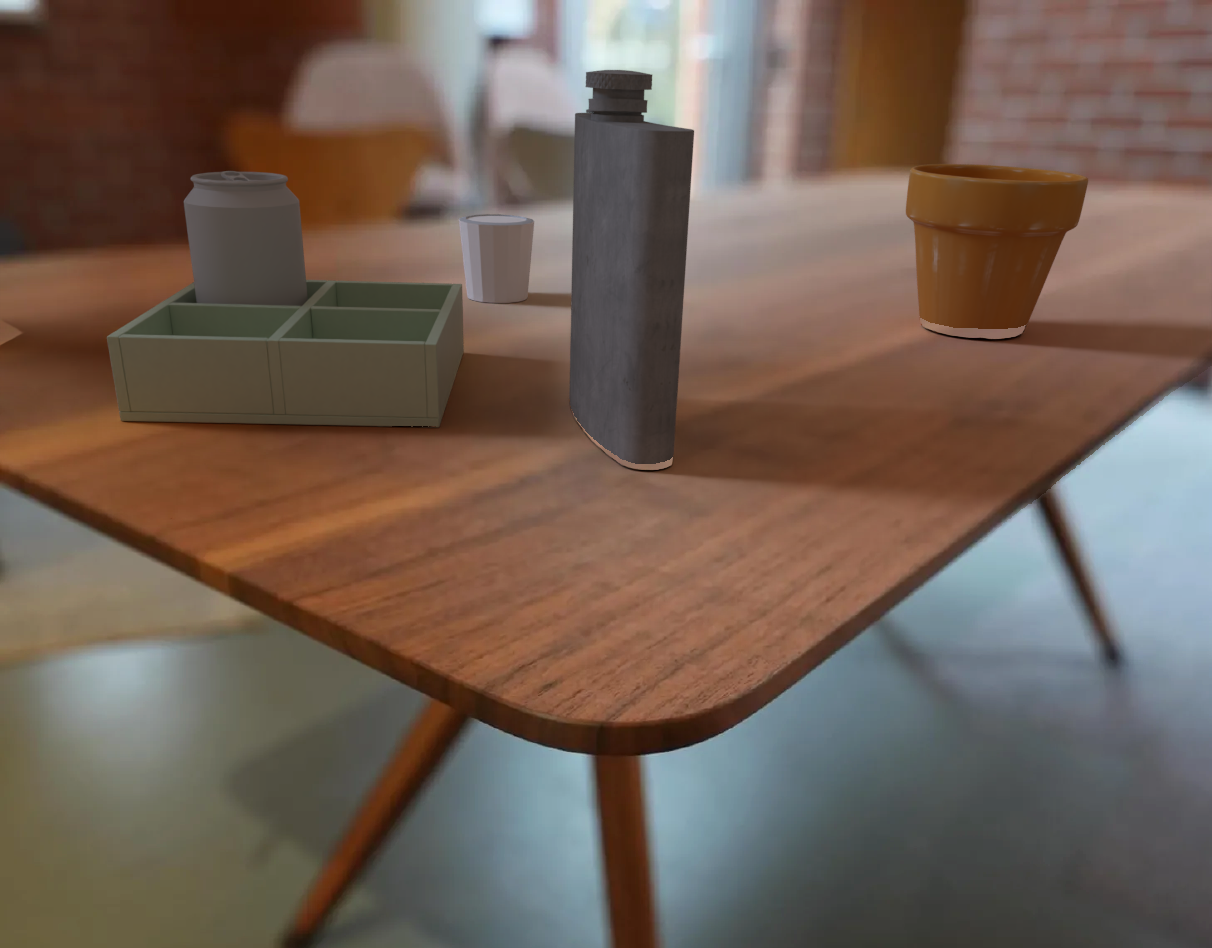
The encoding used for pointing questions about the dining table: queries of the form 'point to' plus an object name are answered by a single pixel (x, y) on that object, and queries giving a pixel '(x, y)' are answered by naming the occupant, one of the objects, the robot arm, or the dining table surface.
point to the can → (245, 239)
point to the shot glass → (496, 256)
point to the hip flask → (628, 268)
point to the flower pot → (987, 239)
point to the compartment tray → (295, 357)
